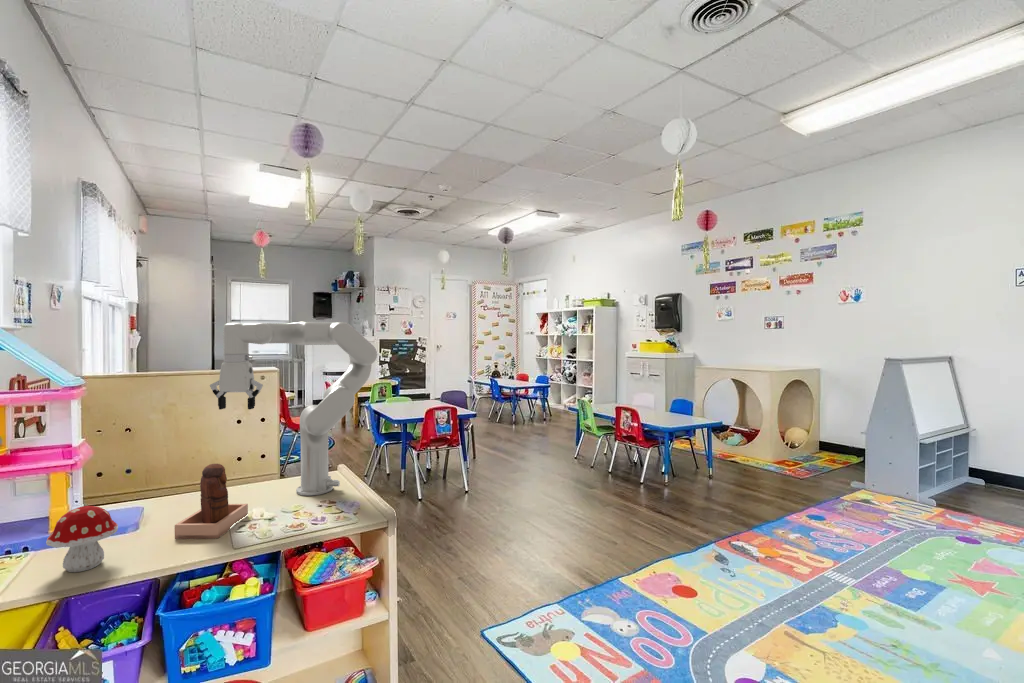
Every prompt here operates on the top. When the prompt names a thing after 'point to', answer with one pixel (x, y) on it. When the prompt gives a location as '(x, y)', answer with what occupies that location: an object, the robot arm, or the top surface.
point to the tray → (209, 524)
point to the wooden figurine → (214, 494)
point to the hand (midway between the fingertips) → (236, 408)
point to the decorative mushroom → (82, 536)
